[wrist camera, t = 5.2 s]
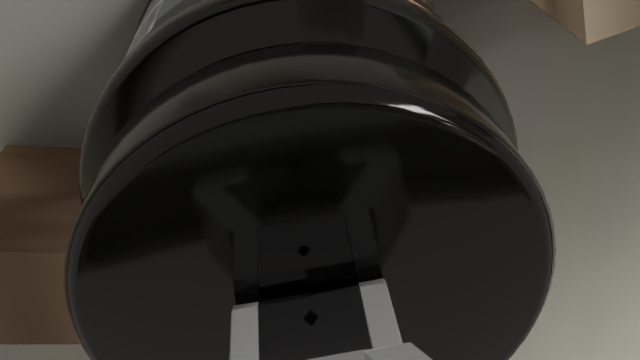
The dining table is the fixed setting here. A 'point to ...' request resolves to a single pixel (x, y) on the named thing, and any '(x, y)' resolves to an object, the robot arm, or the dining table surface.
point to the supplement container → (303, 180)
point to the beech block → (593, 17)
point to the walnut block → (36, 242)
